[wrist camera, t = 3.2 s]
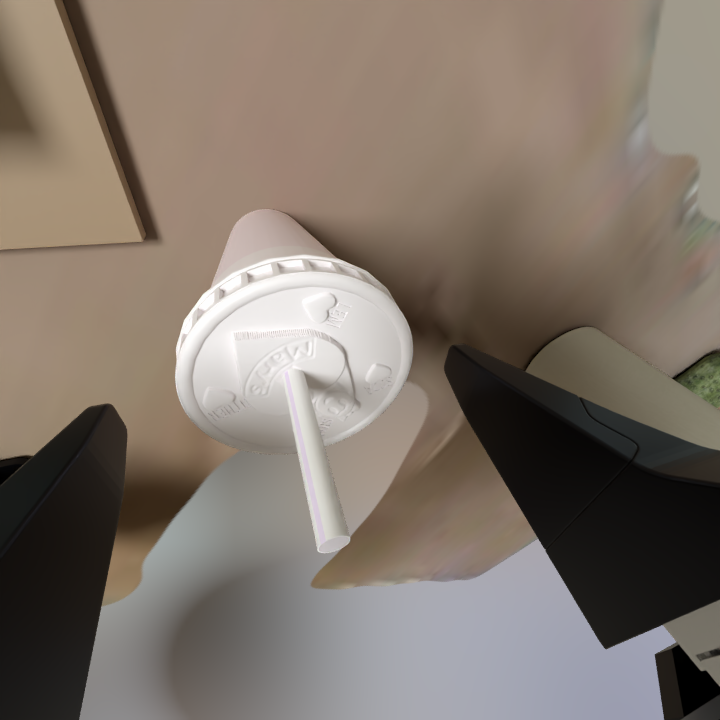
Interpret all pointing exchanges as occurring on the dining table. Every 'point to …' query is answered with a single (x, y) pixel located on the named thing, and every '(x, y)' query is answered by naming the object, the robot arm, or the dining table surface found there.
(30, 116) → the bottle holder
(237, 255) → the smoothie
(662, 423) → the travel mug
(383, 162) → the dining table surface
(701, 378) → the vegetable
